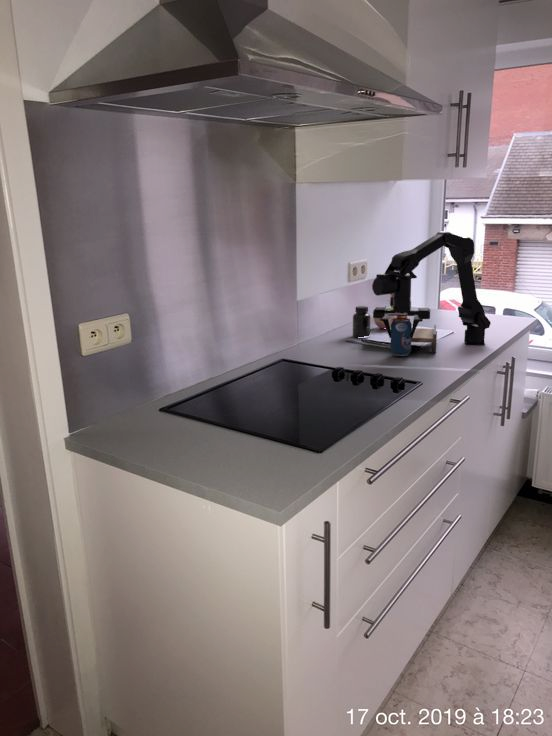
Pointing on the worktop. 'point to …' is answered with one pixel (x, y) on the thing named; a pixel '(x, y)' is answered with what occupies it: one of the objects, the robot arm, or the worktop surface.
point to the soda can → (401, 336)
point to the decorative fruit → (381, 323)
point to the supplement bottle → (361, 322)
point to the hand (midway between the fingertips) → (401, 338)
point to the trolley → (426, 337)
